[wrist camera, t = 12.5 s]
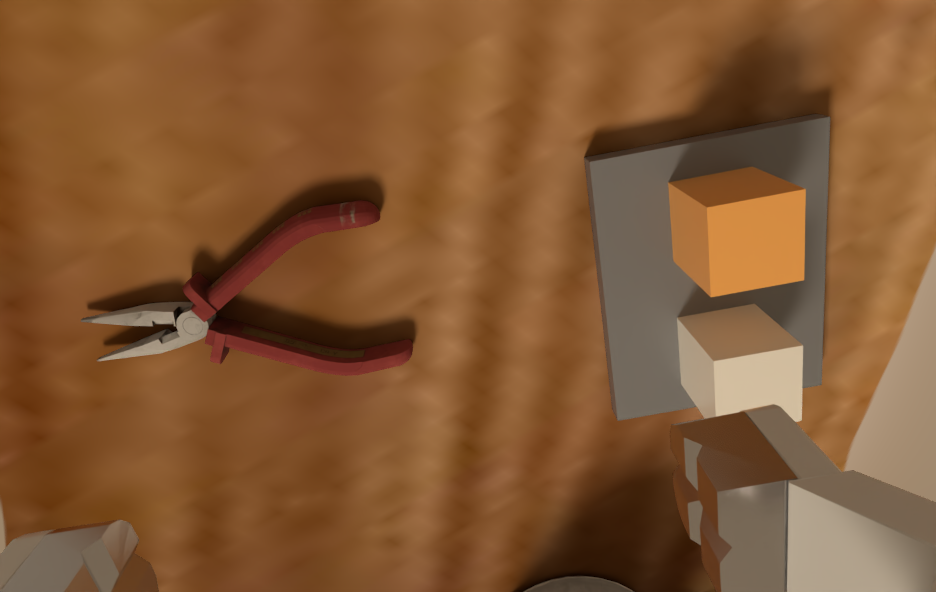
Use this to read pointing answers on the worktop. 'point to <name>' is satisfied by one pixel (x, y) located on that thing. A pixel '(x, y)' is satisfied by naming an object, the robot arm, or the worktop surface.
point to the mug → (578, 585)
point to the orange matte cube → (738, 230)
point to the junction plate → (683, 301)
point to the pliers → (227, 333)
